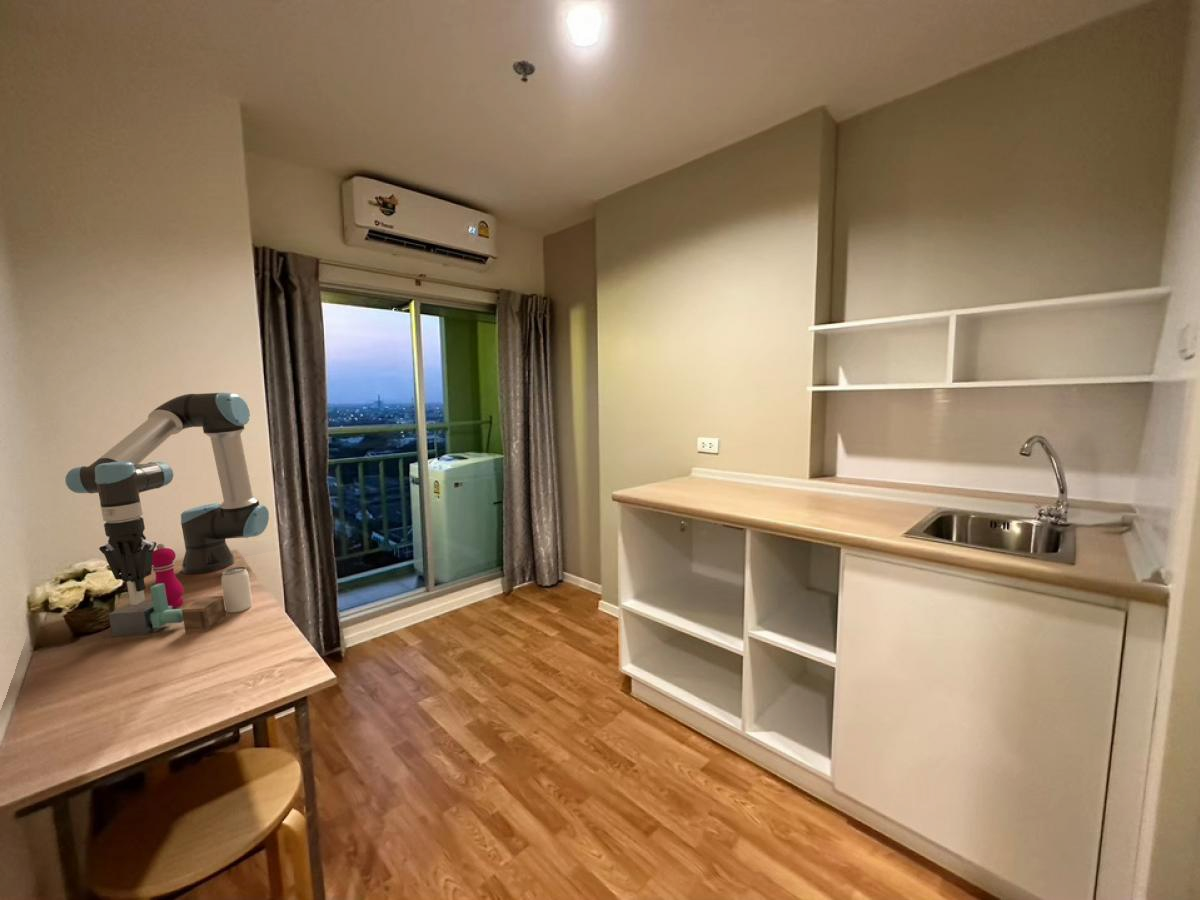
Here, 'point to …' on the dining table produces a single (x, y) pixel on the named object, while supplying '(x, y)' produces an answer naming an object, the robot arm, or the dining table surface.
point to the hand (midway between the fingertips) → (138, 602)
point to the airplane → (162, 608)
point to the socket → (204, 614)
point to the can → (236, 589)
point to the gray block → (132, 620)
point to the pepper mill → (167, 575)
